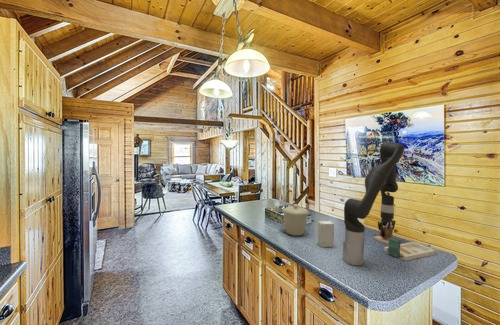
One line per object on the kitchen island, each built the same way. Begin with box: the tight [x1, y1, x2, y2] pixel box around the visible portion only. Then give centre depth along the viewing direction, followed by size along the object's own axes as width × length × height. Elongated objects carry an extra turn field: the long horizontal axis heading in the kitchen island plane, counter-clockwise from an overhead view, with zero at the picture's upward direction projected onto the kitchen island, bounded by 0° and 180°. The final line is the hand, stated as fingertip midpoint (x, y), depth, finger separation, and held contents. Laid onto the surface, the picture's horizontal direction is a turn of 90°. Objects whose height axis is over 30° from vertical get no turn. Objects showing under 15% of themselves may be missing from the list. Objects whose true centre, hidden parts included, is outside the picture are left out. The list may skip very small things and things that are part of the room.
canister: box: [282, 203, 309, 237], centre depth 157 cm, size 18×18×21 cm
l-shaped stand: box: [388, 237, 417, 258], centre depth 127 cm, size 16×9×9 cm, turn 110°
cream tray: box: [383, 241, 437, 262], centre depth 130 cm, size 26×13×2 cm, turn 110°
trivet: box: [373, 235, 389, 245], centre depth 148 cm, size 10×10×1 cm
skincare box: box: [317, 220, 335, 248], centre depth 137 cm, size 8×6×15 cm
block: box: [379, 228, 394, 239], centre depth 147 cm, size 5×5×6 cm
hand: (385, 236), depth 148 cm, fingers closed on block, 5 cm apart
